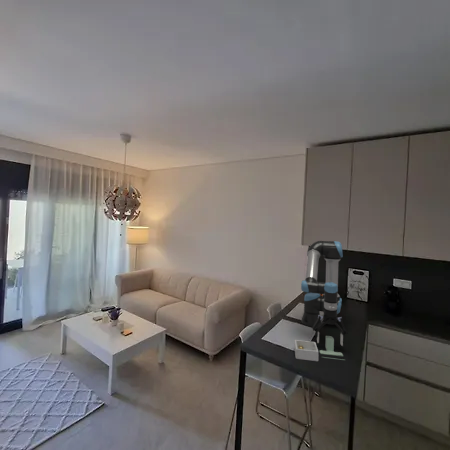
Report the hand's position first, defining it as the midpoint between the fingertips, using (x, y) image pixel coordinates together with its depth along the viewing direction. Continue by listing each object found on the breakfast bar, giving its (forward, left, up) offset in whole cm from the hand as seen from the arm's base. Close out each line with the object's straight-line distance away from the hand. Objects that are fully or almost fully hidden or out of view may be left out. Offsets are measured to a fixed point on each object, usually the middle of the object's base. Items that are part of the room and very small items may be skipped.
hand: (329, 343), depth 155 cm
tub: (+10, -15, -4) cm, 19 cm away
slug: (+8, -18, -3) cm, 20 cm away
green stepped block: (+7, 0, -4) cm, 8 cm away
